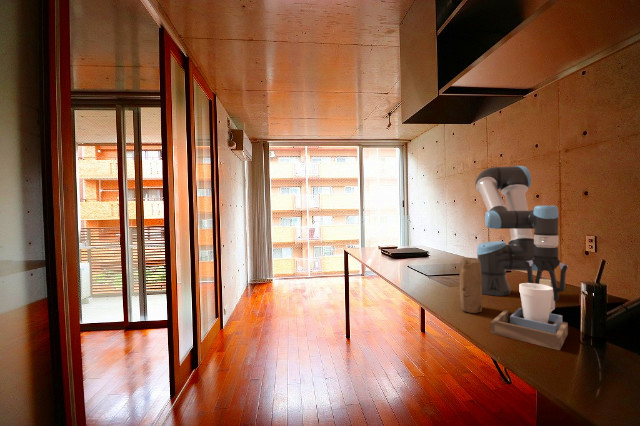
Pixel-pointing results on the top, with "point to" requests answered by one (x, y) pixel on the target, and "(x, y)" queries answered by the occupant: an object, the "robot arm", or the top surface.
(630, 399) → the top surface
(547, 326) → the tray
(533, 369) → the top surface
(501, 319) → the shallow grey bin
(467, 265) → the block
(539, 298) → the foam cup
